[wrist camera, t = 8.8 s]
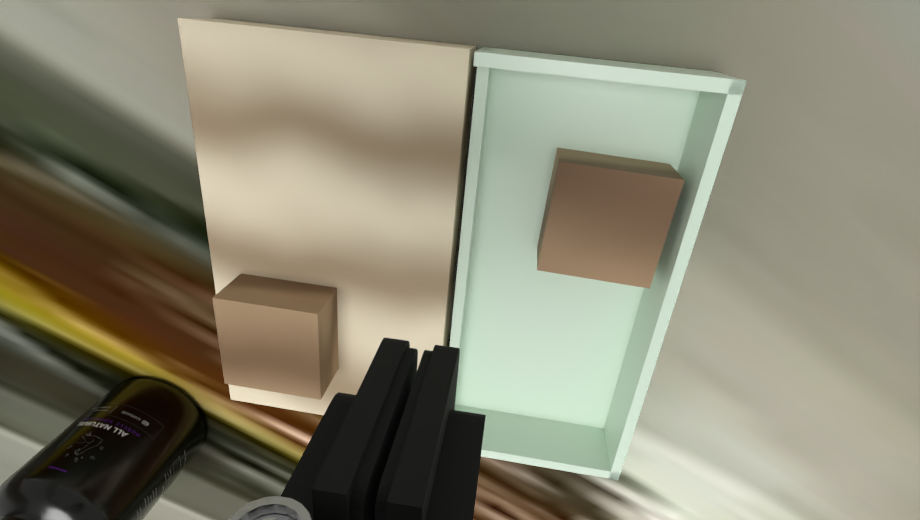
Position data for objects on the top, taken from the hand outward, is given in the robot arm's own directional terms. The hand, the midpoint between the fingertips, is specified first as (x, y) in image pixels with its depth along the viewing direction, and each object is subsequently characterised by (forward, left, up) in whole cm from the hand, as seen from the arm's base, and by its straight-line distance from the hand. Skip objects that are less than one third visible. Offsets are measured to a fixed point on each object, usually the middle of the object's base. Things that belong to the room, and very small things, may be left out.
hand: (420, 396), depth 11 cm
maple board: (+4, -7, -15) cm, 17 cm away
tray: (+4, +4, -15) cm, 16 cm away
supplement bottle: (+19, -20, -15) cm, 31 cm away
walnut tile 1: (0, +6, -12) cm, 13 cm away
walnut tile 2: (+8, -9, -13) cm, 17 cm away
